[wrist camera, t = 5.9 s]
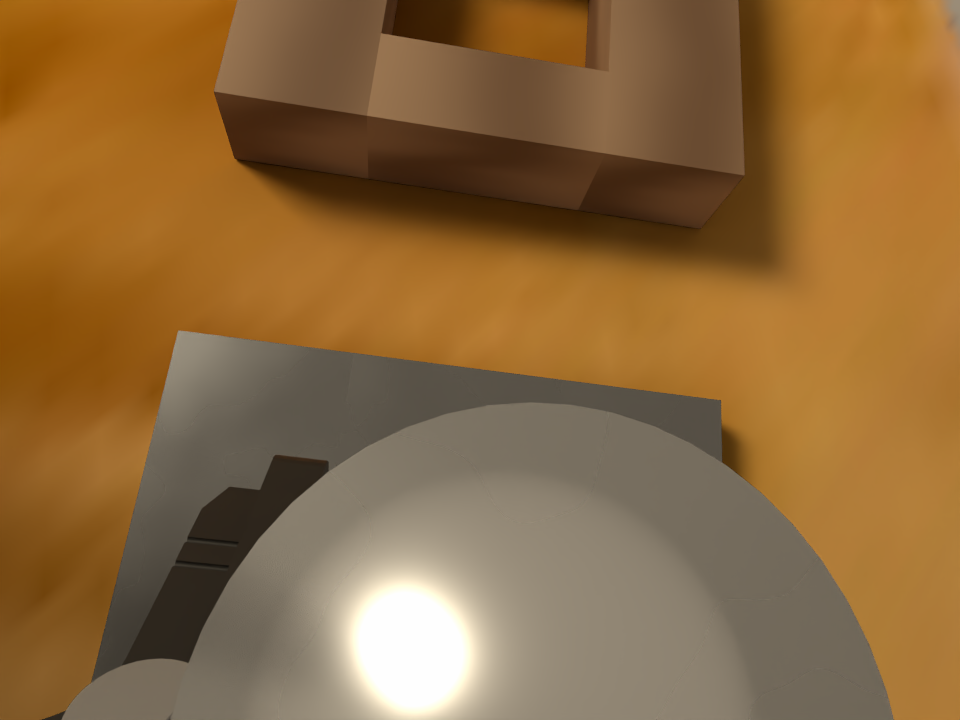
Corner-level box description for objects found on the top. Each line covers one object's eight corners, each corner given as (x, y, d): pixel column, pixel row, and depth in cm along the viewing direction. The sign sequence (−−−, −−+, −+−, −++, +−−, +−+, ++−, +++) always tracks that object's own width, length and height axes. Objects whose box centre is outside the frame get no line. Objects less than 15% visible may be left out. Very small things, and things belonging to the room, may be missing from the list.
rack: (234, 159, 18) (214, 91, 16) (303, -130, 22) (294, -220, 19) (700, 228, 19) (745, 175, 17) (697, -57, 23) (733, -133, 21)
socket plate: (32, 1004, 13) (4, 1035, 12) (189, 346, 17) (178, 330, 16) (709, 1036, 14) (734, 1067, 13) (702, 411, 18) (720, 400, 17)
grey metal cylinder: (304, 762, 14) (36, 1287, 3) (337, 544, 16) (237, 353, 4) (513, 779, 15) (966, 1300, 3) (527, 565, 16) (880, 437, 5)
